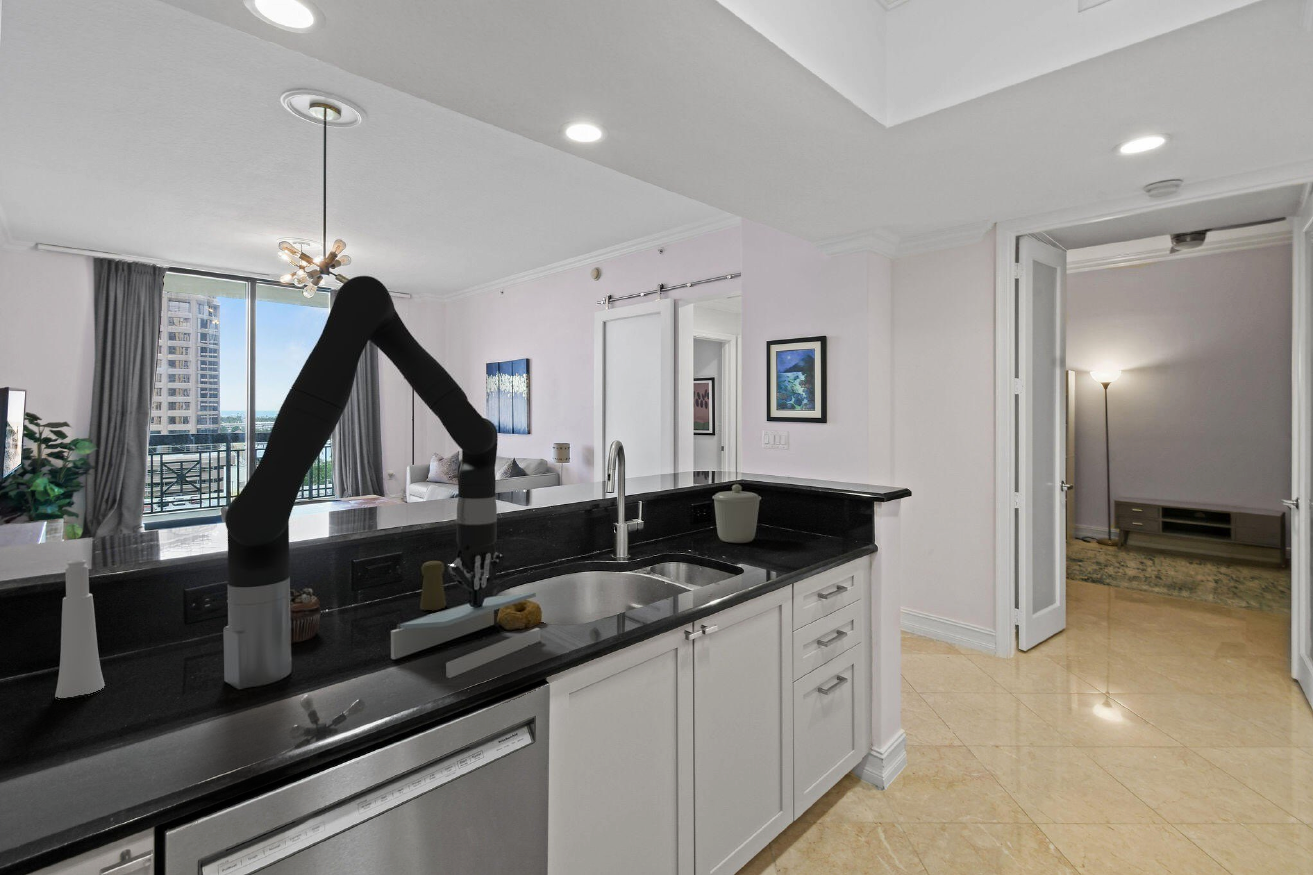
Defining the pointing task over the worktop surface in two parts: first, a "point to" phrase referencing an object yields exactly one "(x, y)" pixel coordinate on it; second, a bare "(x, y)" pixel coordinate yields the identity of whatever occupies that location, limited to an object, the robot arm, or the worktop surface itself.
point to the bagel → (520, 615)
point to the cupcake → (303, 614)
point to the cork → (432, 586)
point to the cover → (464, 612)
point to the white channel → (430, 636)
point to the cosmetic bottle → (78, 637)
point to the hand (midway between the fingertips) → (476, 606)
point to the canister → (736, 515)
